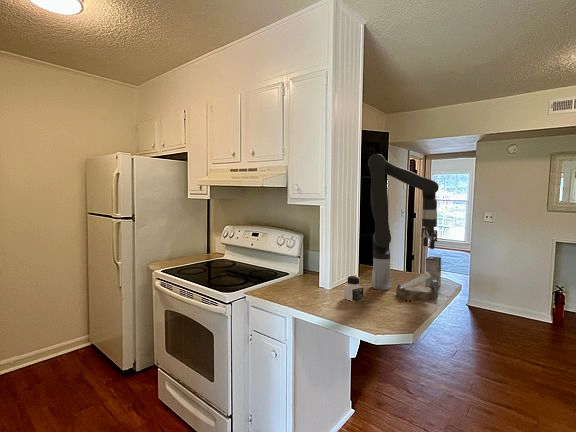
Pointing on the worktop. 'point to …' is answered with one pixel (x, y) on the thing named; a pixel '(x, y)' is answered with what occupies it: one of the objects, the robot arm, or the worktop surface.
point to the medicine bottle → (353, 289)
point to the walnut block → (416, 293)
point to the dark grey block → (434, 286)
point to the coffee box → (433, 269)
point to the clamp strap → (415, 280)
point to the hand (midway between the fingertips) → (428, 247)
